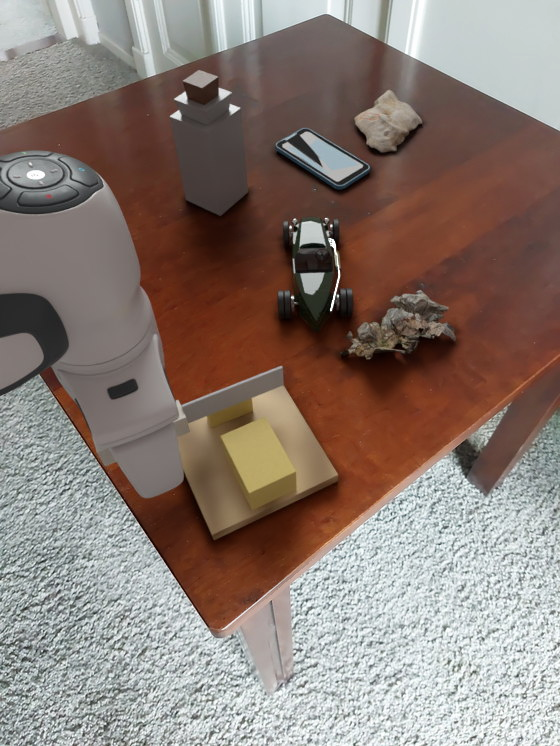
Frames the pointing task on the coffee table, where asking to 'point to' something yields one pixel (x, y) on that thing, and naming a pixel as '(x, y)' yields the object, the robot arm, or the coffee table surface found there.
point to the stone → (387, 122)
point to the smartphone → (322, 158)
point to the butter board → (217, 479)
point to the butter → (259, 462)
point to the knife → (215, 403)
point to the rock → (401, 326)
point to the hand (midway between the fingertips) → (140, 432)
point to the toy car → (314, 273)
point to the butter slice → (230, 413)
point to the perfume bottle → (209, 144)
